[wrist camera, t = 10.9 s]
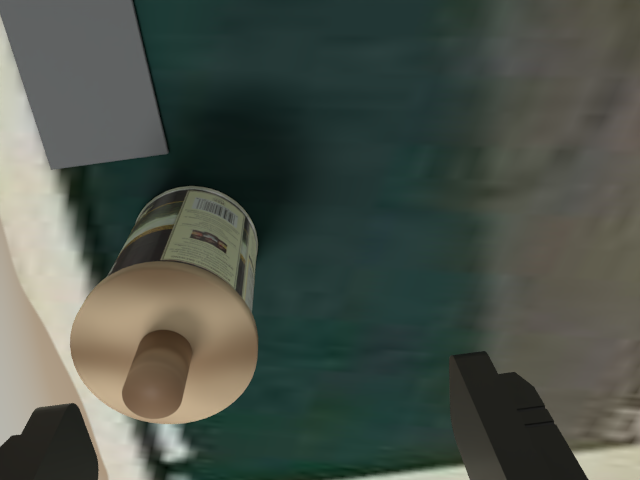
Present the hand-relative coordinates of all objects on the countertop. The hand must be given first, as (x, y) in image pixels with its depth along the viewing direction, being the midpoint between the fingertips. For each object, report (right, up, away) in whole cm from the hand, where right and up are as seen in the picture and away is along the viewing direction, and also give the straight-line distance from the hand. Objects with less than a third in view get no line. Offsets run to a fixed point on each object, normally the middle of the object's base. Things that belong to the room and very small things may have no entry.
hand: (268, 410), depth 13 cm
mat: (-16, +16, +31) cm, 38 cm away
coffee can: (-9, +3, +37) cm, 38 cm away
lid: (-8, -3, +24) cm, 26 cm away
